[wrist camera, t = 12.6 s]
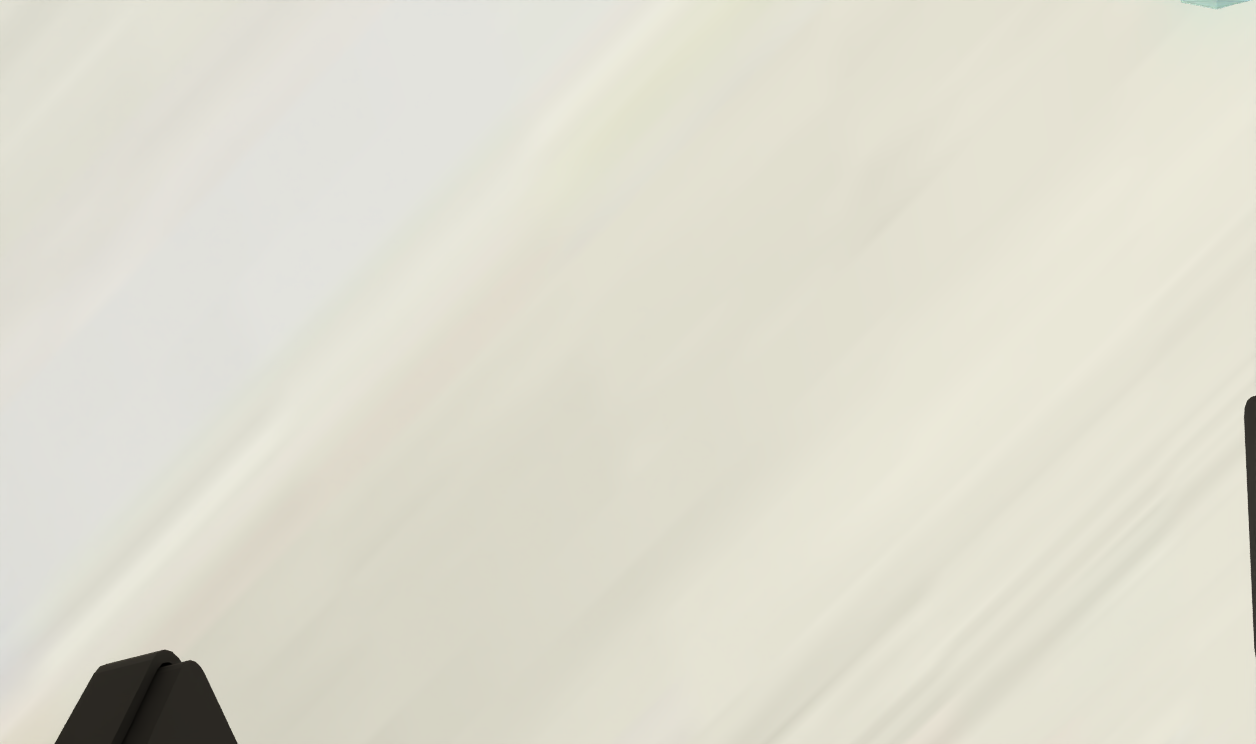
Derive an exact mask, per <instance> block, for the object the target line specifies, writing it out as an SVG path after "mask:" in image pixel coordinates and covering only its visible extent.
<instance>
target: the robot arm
mask: <svg viewBox="0 0 1256 744" xmlns="http://www.w3.org/2000/svg"><path fill="white" fill-rule="evenodd" d="M1244 424H1245V447H1246V469H1247V492H1248V514H1249V537H1250V559H1251V582H1252V605H1253V627H1254V648H1255V655H1256V396H1253V397H1251V398H1250V399H1249V400H1248V401H1247V403H1246V406H1245V412H1244ZM55 744H237V741H236V739H235V737H234V735H233V733H232V731H231V729H230V726H229V724H228V722H227V720H226V718H225V716H224V714H223V712H222V709H221V707H220V705H219V703H218V701H217V699H216V697H215V695H214V692H213V690H212V688H211V686H210V684H209V682H208V680H207V678H206V675H205V673H204V672H203V670H202V668H201V667H200V666H199V665H198V664H197V663H196V662H195V661H191V660H189V661H185V662H181V661H180V659H179V658H178V657H177V656H176V655H175V654H174V653H173V652H171V651H168V650H161V651H157V652H153V653H149V654H145V655H141V656H137V657H133V658H129V659H125V660H121V661H117V662H113V663H109V664H106V665H103V666H100V667H99V668H98V669H97V671H96V672H95V673H94V674H93V676H92V678H91V680H90V681H89V683H88V685H87V687H86V689H85V690H84V692H83V694H82V696H81V698H80V699H79V701H78V703H77V705H76V706H75V708H74V710H73V712H72V714H71V715H70V717H69V719H68V721H67V723H66V724H65V726H64V728H63V730H62V731H61V733H60V735H59V737H58V739H57V740H56V742H55Z"/></svg>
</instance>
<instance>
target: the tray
mask: <svg viewBox="0 0 1256 744" xmlns="http://www.w3.org/2000/svg"><path fill="white" fill-rule="evenodd" d="M1246 1H1250V0H1181V2H1183V3H1188V4H1193V5H1198V6H1203V7H1208V8H1213V9H1219V8H1223V7H1227V6H1230V5H1234V4H1238V3H1242V2H1246Z"/></svg>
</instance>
